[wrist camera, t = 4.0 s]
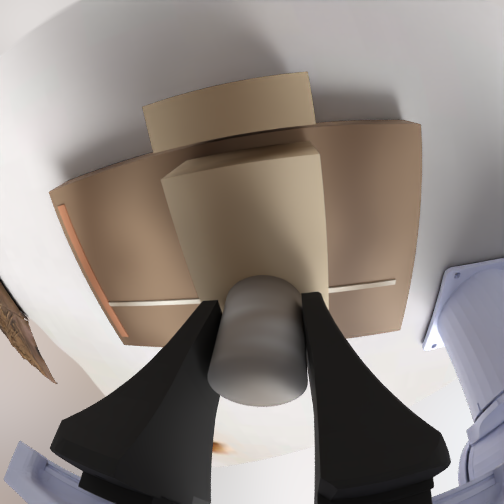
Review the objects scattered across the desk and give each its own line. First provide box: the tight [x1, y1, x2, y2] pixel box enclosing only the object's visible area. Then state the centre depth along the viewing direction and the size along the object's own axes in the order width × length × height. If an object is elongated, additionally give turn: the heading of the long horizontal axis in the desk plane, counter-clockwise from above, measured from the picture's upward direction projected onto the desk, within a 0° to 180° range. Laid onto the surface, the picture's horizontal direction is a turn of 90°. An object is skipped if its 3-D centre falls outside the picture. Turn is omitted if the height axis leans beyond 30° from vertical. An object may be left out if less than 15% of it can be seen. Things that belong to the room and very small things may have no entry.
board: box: [49, 120, 422, 347], centre depth 15 cm, size 19×12×2 cm, turn 100°
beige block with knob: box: [142, 72, 329, 407], centre depth 10 cm, size 6×12×8 cm, turn 10°
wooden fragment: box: [0, 282, 58, 384], centre depth 24 cm, size 26×11×1 cm, turn 176°
